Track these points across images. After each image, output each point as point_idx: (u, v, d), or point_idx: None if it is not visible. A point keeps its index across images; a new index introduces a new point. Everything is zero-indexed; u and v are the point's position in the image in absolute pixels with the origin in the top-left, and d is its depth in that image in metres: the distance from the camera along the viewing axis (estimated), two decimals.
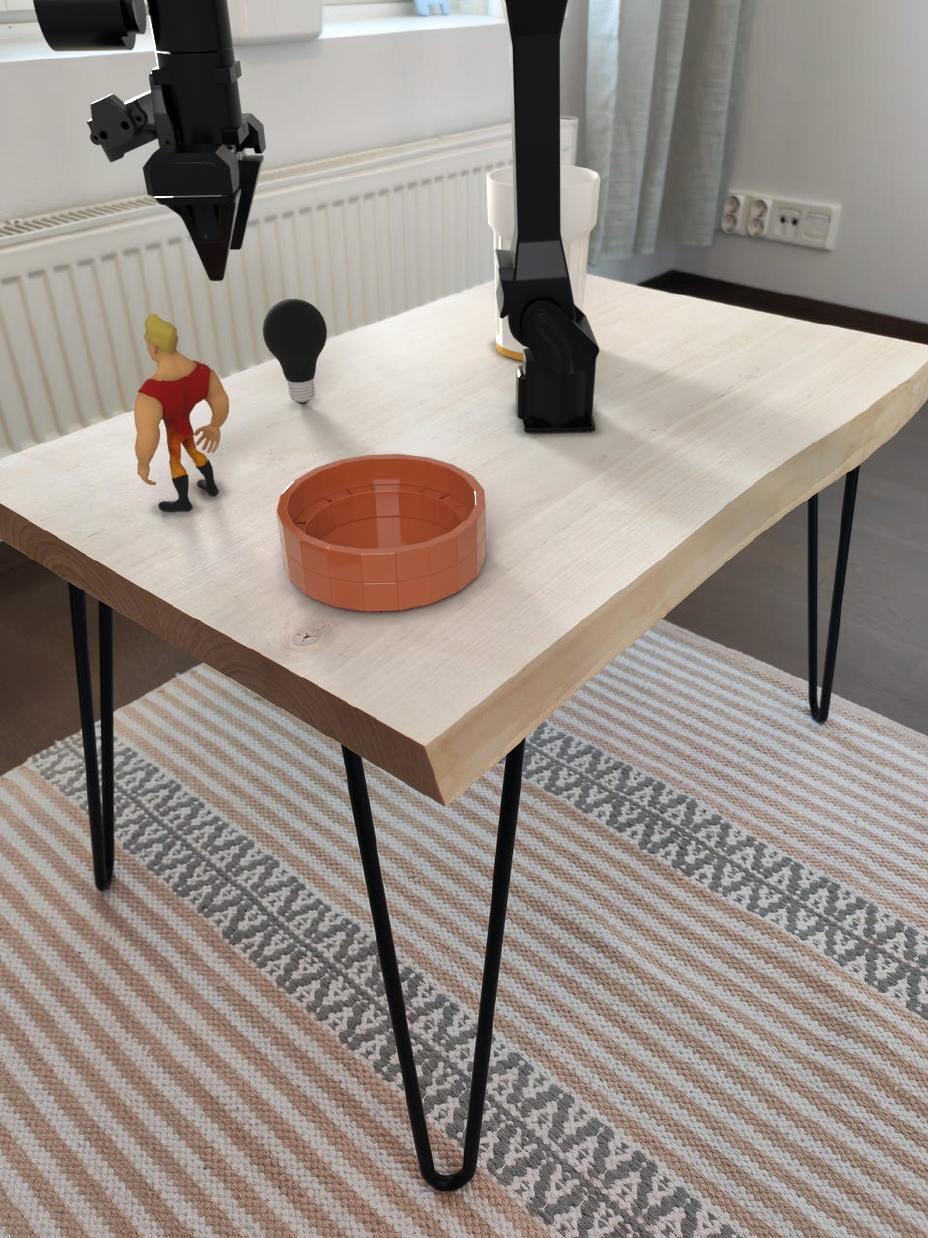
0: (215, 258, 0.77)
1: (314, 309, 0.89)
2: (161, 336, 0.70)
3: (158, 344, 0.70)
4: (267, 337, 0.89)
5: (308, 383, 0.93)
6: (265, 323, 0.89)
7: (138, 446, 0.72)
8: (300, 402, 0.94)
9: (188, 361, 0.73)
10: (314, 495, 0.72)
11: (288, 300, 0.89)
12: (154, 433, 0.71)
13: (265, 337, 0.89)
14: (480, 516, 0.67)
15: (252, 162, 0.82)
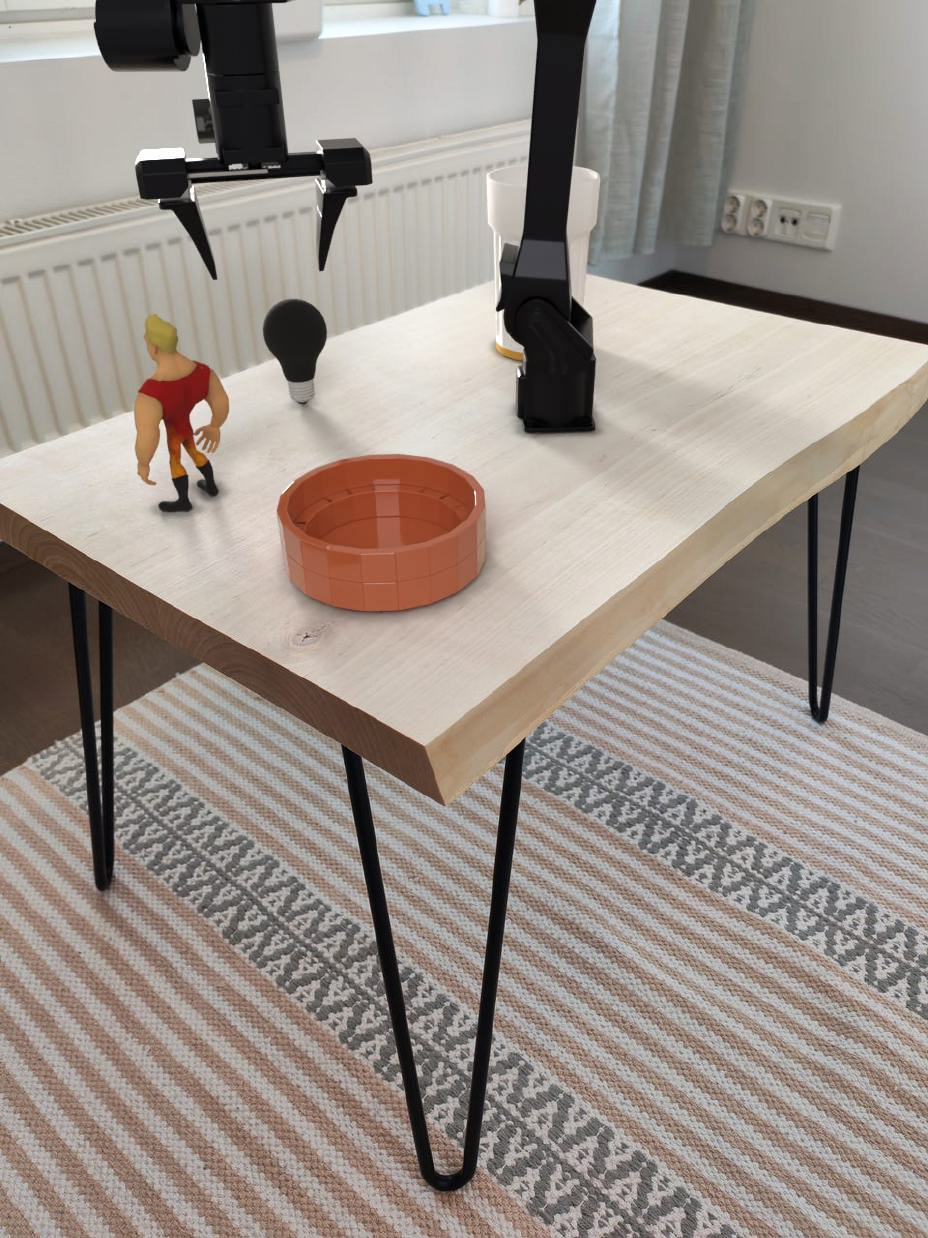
0: None
1: (314, 309, 0.89)
2: (161, 336, 0.70)
3: (158, 344, 0.70)
4: (267, 337, 0.89)
5: (308, 383, 0.93)
6: (265, 323, 0.89)
7: (138, 446, 0.72)
8: (300, 402, 0.94)
9: (188, 361, 0.73)
10: (314, 495, 0.72)
11: (288, 300, 0.89)
12: (154, 433, 0.71)
13: (265, 337, 0.89)
14: (480, 516, 0.67)
15: (322, 192, 0.81)
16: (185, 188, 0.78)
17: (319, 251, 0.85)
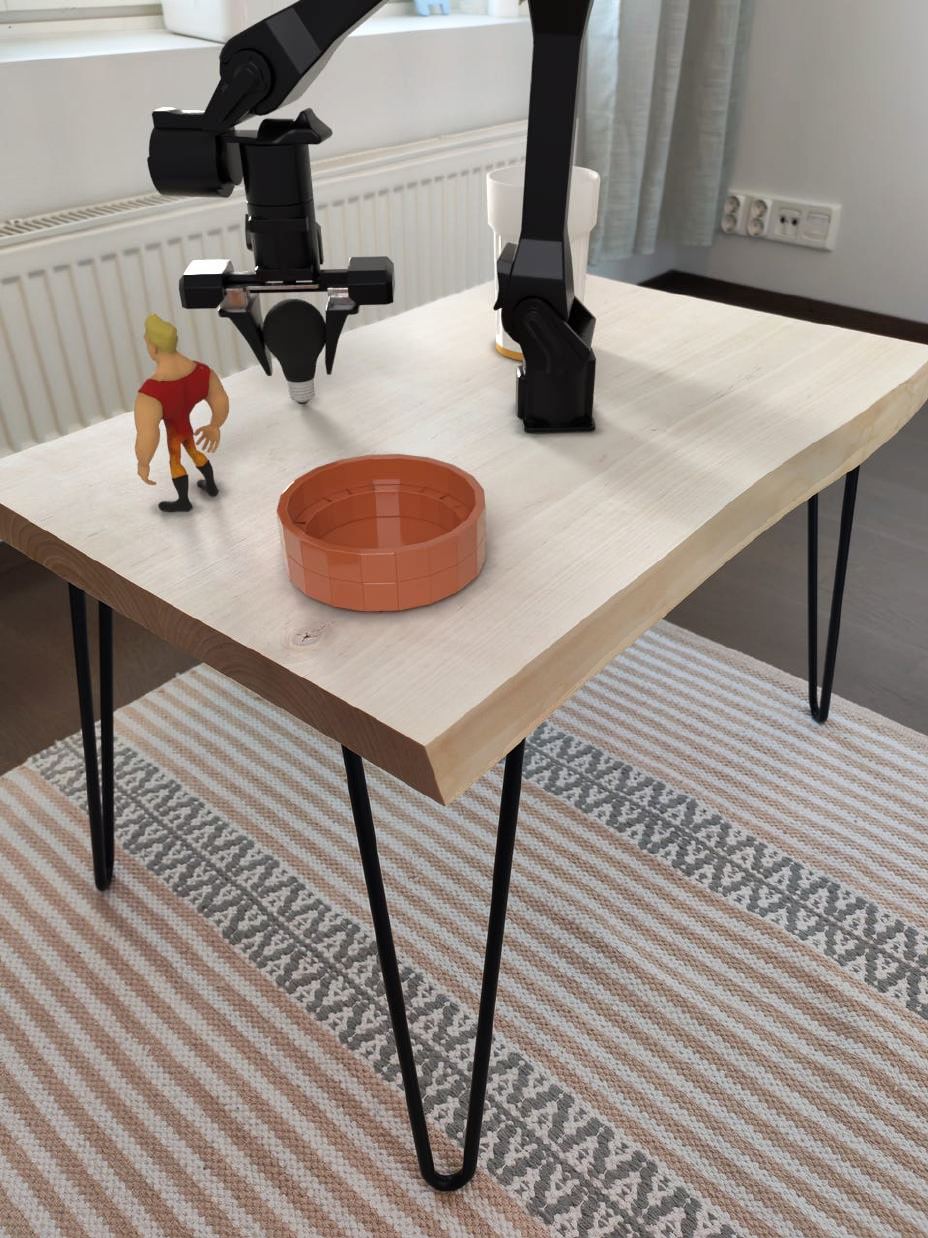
0: None
1: (314, 309, 0.89)
2: (161, 336, 0.70)
3: (157, 344, 0.70)
4: (267, 337, 0.89)
5: (308, 383, 0.93)
6: (265, 323, 0.89)
7: (138, 446, 0.72)
8: (300, 402, 0.94)
9: (188, 361, 0.73)
10: (314, 495, 0.72)
11: (288, 300, 0.89)
12: (154, 433, 0.71)
13: (265, 337, 0.89)
14: (480, 516, 0.67)
15: (326, 308, 0.87)
16: (220, 300, 0.86)
17: (325, 358, 0.91)
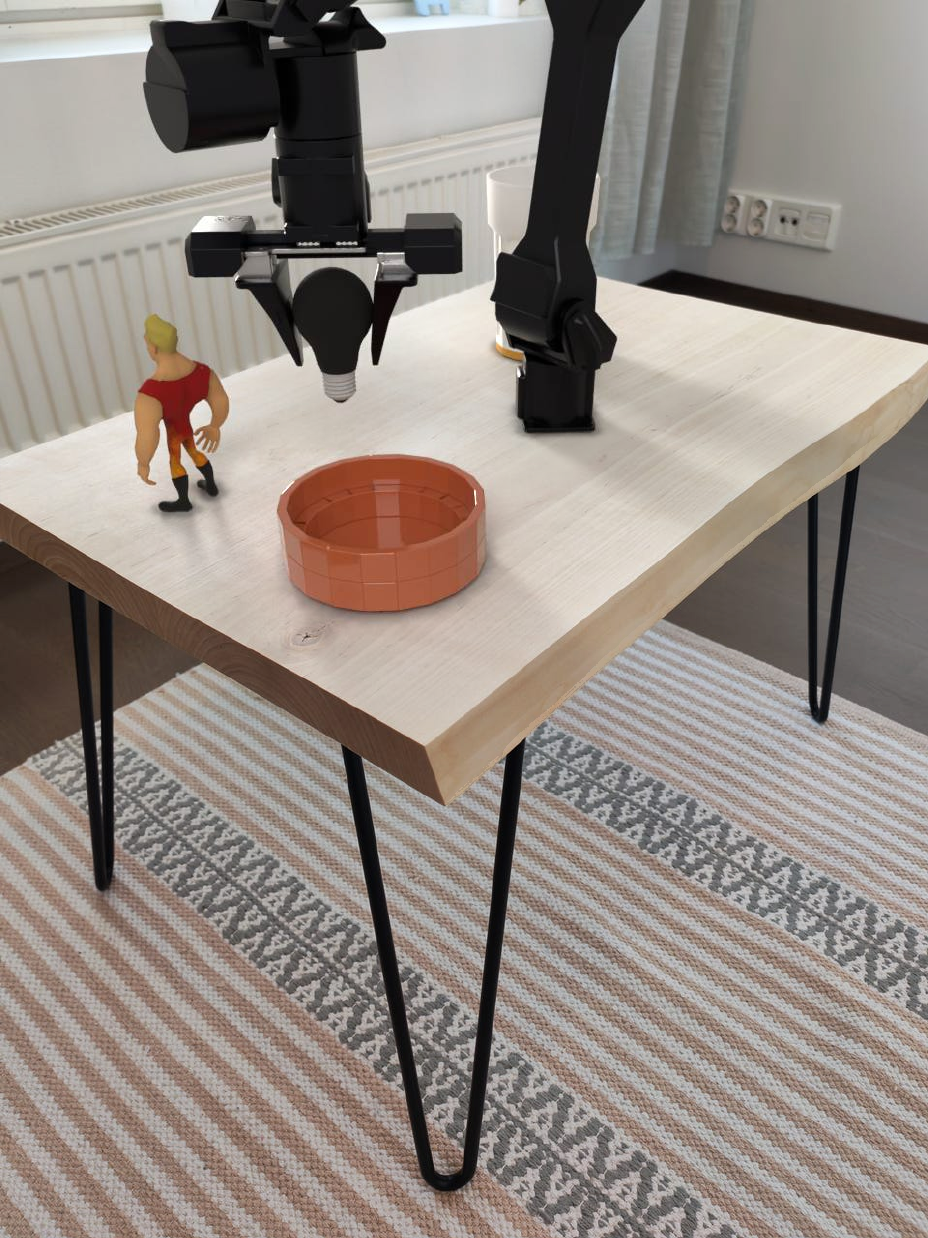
0: None
1: (358, 280, 0.69)
2: (161, 336, 0.70)
3: (157, 344, 0.70)
4: (297, 316, 0.69)
5: (348, 376, 0.73)
6: (295, 298, 0.69)
7: (138, 446, 0.72)
8: (337, 400, 0.74)
9: (188, 361, 0.73)
10: (314, 495, 0.72)
11: (325, 268, 0.69)
12: (154, 433, 0.71)
13: (295, 316, 0.69)
14: (480, 516, 0.67)
15: None
16: (238, 267, 0.66)
17: (372, 344, 0.71)
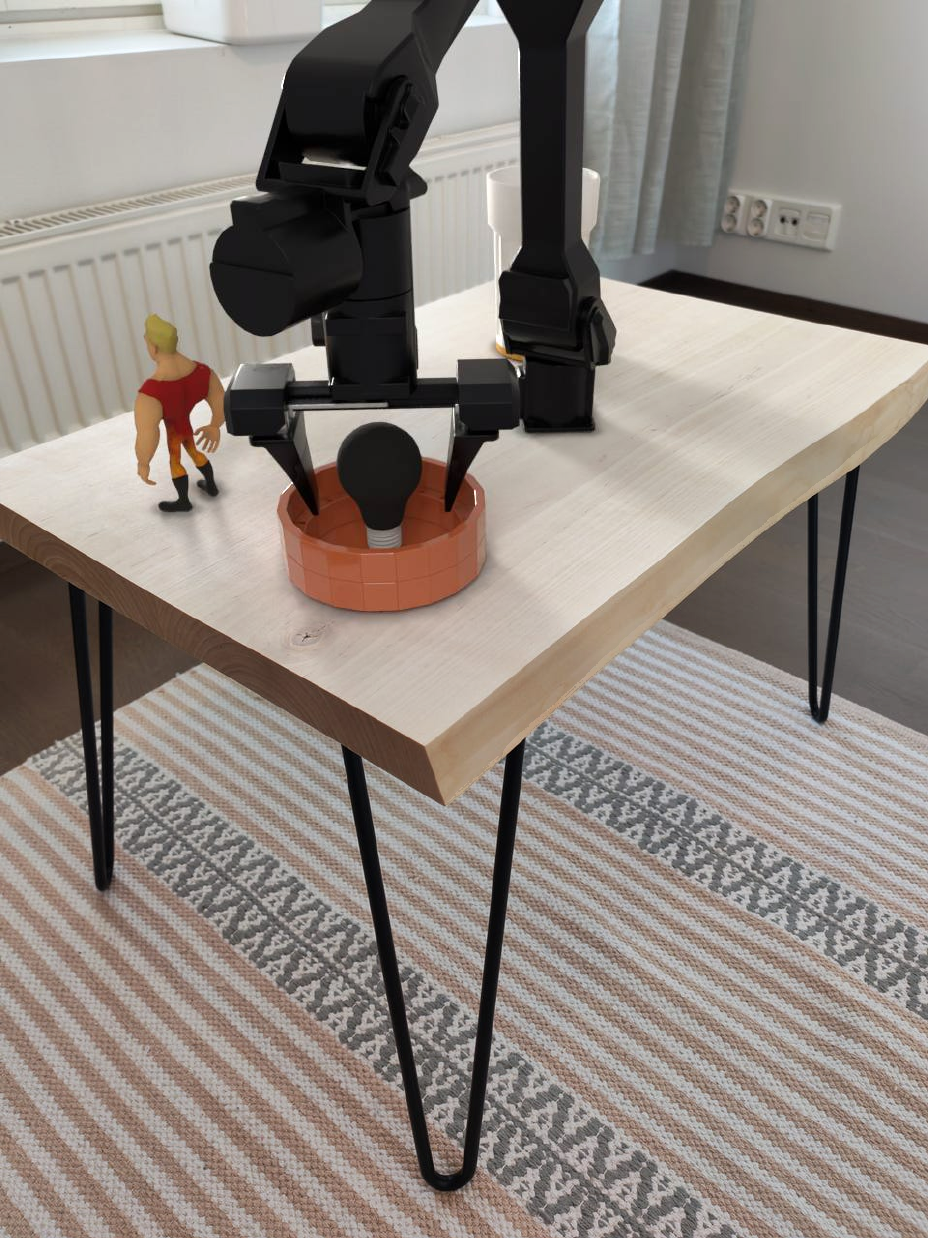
0: None
1: (407, 437, 0.66)
2: (161, 336, 0.70)
3: (158, 344, 0.70)
4: (343, 476, 0.65)
5: (395, 530, 0.69)
6: (341, 457, 0.65)
7: (138, 446, 0.72)
8: None
9: (188, 361, 0.73)
10: None
11: (372, 426, 0.65)
12: (154, 433, 0.71)
13: (340, 475, 0.66)
14: (480, 516, 0.67)
15: (454, 433, 0.63)
16: (281, 425, 0.61)
17: (446, 493, 0.67)
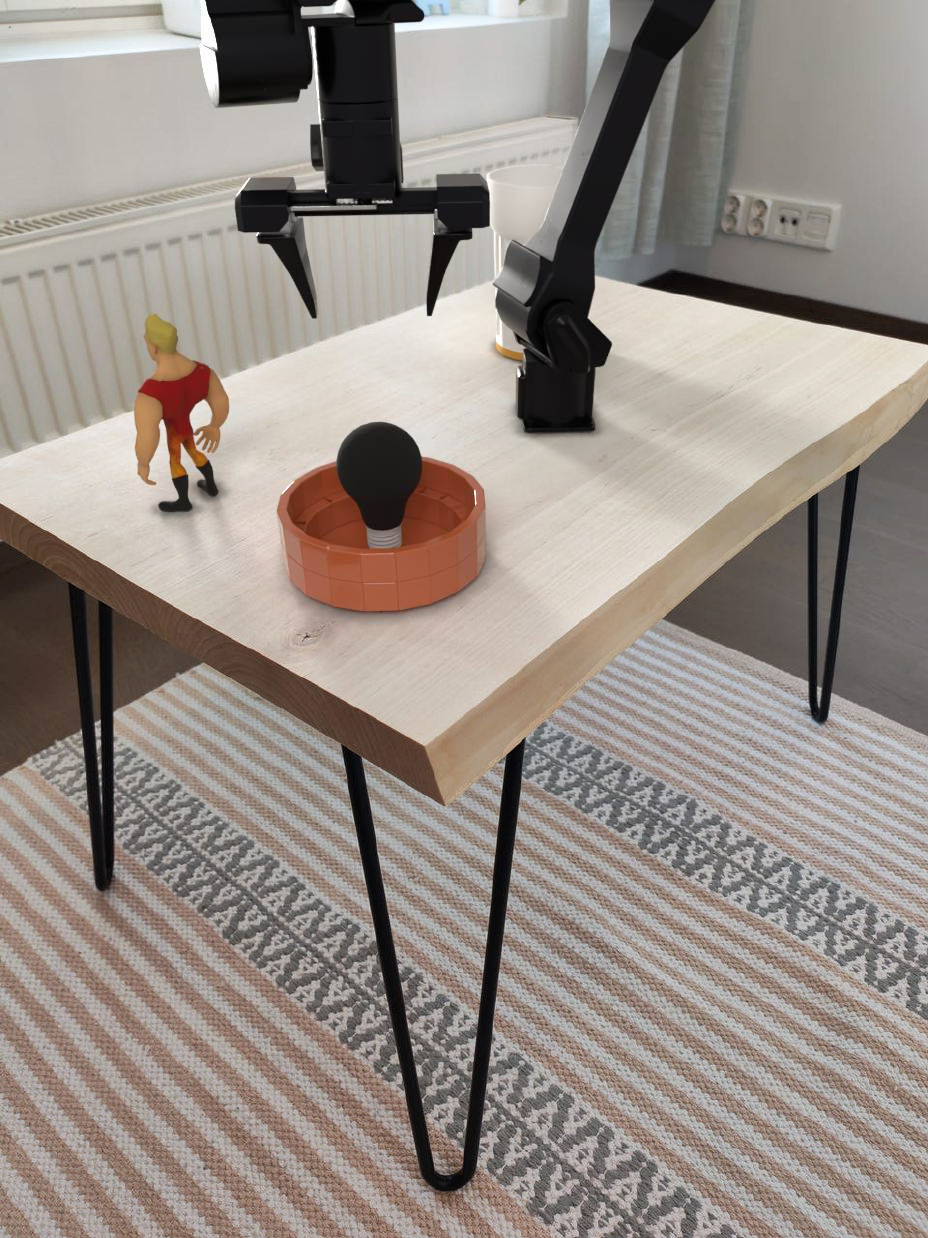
0: None
1: (407, 437, 0.66)
2: (161, 336, 0.70)
3: (158, 344, 0.70)
4: (343, 476, 0.65)
5: (395, 530, 0.69)
6: (341, 457, 0.65)
7: (138, 446, 0.72)
8: None
9: (188, 361, 0.73)
10: (314, 495, 0.72)
11: (372, 426, 0.65)
12: (154, 433, 0.71)
13: (340, 475, 0.66)
14: (480, 516, 0.67)
15: (433, 233, 0.73)
16: (284, 222, 0.72)
17: (427, 295, 0.77)
